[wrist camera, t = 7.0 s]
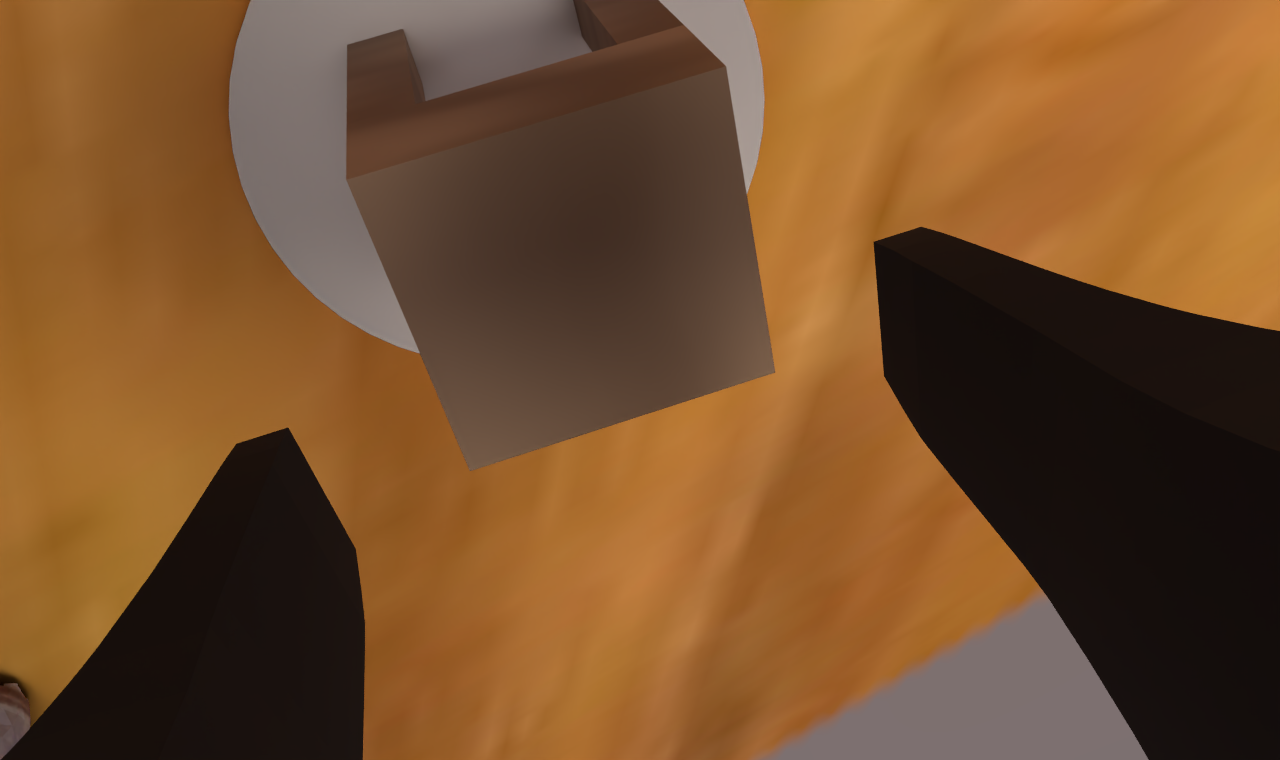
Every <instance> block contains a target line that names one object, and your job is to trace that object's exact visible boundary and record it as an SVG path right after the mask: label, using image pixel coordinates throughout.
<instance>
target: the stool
mask: <svg viewBox="0 0 1280 760" xmlns="http://www.w3.org/2000/svg"><path fill="white" fill-rule="evenodd" d="M573 2H574V6H575V10H576V14H577V18H578V22H579V26H580V30H581V34H582V37H583V39H584V40H585V42H586V43H587V45H588V46H589V48H590V49H591V50H592V52H590V53H587V54H584V55H580V56H577V57H573V58H570V59H567V60H563V61H560V62H557V63H553V64H550V65H546V66H543V67H540V68H536V69H533V70H529V71H526V72H523V73H519V74H516V75H513V76H509V77H506V78H502V79H499V80H496V81H492V82H489V83H485V84H482V85H479V86H475V87H472V88H469V89H465V90H462V91H458V92H455V93H452V94H448V95H445V96H441V97H438V98H435V99H431V100H428V101H426V100H425V95H424V89H423V84H422V81H421V78H420V75H419V73H418V70H417V67H416V64H415V61H414V58H413V56H412V53H411V50H410V47H409V44H408V41H407V38H406V36H405V33H404V30H403V29H400V30H396V31H393V32H390V33H386V34H383V35H379V36H376V37H372V38H369V39H365V40H362V41H359V42H355V43H352V44H348V45H347V127H346V181H347V183H348V185H349V188H350V190H351V193H352V195H353V197H354V200H355V202H356V204H357V207H358V209H359V211H360V214H361V216H362V218H363V221H364V223H365V225H366V228H367V230H368V232H369V235H370V237H371V240H372V242H373V244H374V247H375V249H376V251H377V254H378V256H379V258H380V261H381V263H382V265H383V268H384V270H385V272H386V275H387V277H388V279H389V282H390V284H391V287H392V289H393V291H394V294H395V296H396V298H397V301H398V303H399V305H400V308H401V310H402V312H403V315H404V317H405V319H406V322H407V324H408V326H409V329H410V331H411V334H412V336H413V338H414V341H415V343H416V345H417V348H418V350H419V352H420V355H421V357H422V359H423V362H424V364H425V366H426V369H427V371H428V373H429V376H430V378H431V381H432V383H433V385H434V388H435V390H436V392H437V395H438V397H439V399H440V402H441V404H442V406H443V409H444V411H445V413H446V416H447V418H448V420H449V423H450V425H451V427H452V430H453V432H454V435H455V437H456V439H457V442H458V444H459V446H460V449H461V451H462V453H463V456H464V458H465V460H466V463H467V465H468V467H469V470H470V471H472V470H475V469H478V468H481V467H484V466H487V465H490V464H493V463H496V462H500V461H503V460H506V459H509V458H512V457H515V456H518V455H521V454H524V453H527V452H531V451H534V450H537V449H540V448H543V447H546V446H549V445H552V444H555V443H558V442H561V441H565V440H568V439H571V438H574V437H577V436H580V435H583V434H586V433H589V432H592V431H595V430H599V429H602V428H605V427H608V426H611V425H614V424H617V423H620V422H623V421H626V420H630V419H633V418H636V417H639V416H642V415H645V414H648V413H651V412H654V411H657V410H660V409H664V408H667V407H670V406H673V405H676V404H679V403H682V402H685V401H688V400H691V399H695V398H698V397H701V396H704V395H707V394H710V393H713V392H716V391H719V390H722V389H725V388H729V387H732V386H735V385H738V384H741V383H744V382H747V381H750V380H753V379H756V378H759V377H763V376H766V375H769V374H772V373H775V368H774V362H773V355H772V349H771V343H770V337H769V331H768V324H767V318H766V312H765V306H764V299H763V293H762V287H761V281H760V274H759V268H758V262H757V256H756V249H755V243H754V237H753V231H752V224H751V218H750V212H749V206H748V199H747V193H746V187H745V181H744V174H743V168H742V162H741V156H740V149H739V143H738V137H737V131H736V125H735V118H734V112H733V106H732V100H731V93H730V87H729V81H728V75H727V68H726V66H725V65H724V64H723V63H722V62H721V61H720V60H719V59H718V58H717V57H716V56H715V55H714V54H713V53H712V52H711V51H710V50H709V49H708V48H707V47H706V46H705V45H704V44H703V43H702V42H701V41H700V40H699V39H698V38H697V37H696V36H695V35H694V34H693V33H692V32H691V31H690V30H689V29H688V28H687V27H686V26H685V25H684V24H682V23H681V22H680V21H679V20H678V19H677V18H676V17H675V16H674V15H673V14H672V13H671V12H670V11H669V10H668V9H667V8H666V7H665V6H664V5H663V4H662V3H661V2H660V1H659V0H573Z"/></svg>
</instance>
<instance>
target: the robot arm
mask: <svg viewBox="0 0 1280 760" xmlns="http://www.w3.org/2000/svg"><path fill="white" fill-rule="evenodd" d="M874 253H875V265H876V278H877V291H878V304H879V316H880V329H881V342H882V355H883V368H884V377H885V378H886V380H887V382H888V384H889V385H890V387H891V389H892V390H893V392H894V394H895V396H896V397H897V399H898V401H899V403H900V404H901V406H902V408H903V410H904V411H905V413H906V414H907V416H908V418H909V419H910V421H911V423H912V424H913V426H914V427H915V429H916V431H917V432H918V434H919V436H920V437H921V439H922V440H923V441H924V442H925V444H926V445H927V446H928V448H929V449H930V450H931V451H932V453H933V454H934V455H935V456H936V458H937V459H938V460H939V461H940V463H941V464H942V465H943V466H944V468H945V469H946V470H947V471H948V473H949V474H950V475H951V476H952V478H953V479H954V480H955V481H956V483H957V484H958V485H959V486H960V488H961V489H962V490H963V491H964V492H965V494H966V495H967V496H968V497H969V499H970V500H971V501H972V502H973V504H974V505H975V506H976V507H977V508H978V510H979V511H980V512H981V513H982V515H983V516H984V517H985V518H986V519H987V521H988V522H989V523H990V524H991V526H992V527H993V528H994V529H995V530H996V532H997V533H998V534H999V535H1000V537H1001V538H1002V539H1003V540H1004V541H1005V543H1006V544H1007V545H1008V546H1009V548H1010V549H1011V550H1012V551H1013V552H1014V554H1015V555H1016V556H1017V557H1018V559H1019V560H1020V561H1021V562H1022V563H1023V565H1024V566H1025V567H1026V569H1027V570H1028V571H1029V573H1030V574H1031V575H1032V577H1033V578H1034V579H1035V581H1036V582H1037V583H1038V585H1039V586H1040V587H1041V589H1042V590H1043V591H1044V593H1045V594H1046V595H1047V597H1048V598H1049V600H1050V601H1051V603H1052V604H1053V606H1054V608H1055V609H1056V611H1057V612H1058V614H1059V615H1060V617H1061V618H1062V620H1063V621H1064V623H1065V625H1066V626H1067V628H1068V629H1069V631H1070V632H1071V634H1072V635H1073V637H1074V638H1075V640H1076V642H1077V643H1078V644H1079V646H1080V648H1081V649H1082V651H1083V652H1084V654H1085V655H1086V657H1087V659H1088V660H1089V662H1090V663H1091V665H1092V666H1093V668H1094V670H1095V671H1096V673H1097V675H1098V676H1099V678H1100V680H1101V681H1102V683H1103V684H1104V686H1105V688H1106V689H1107V691H1108V693H1109V694H1110V696H1111V697H1112V699H1113V701H1114V702H1115V704H1116V706H1117V707H1118V709H1119V710H1120V712H1121V714H1122V715H1123V717H1124V719H1125V720H1126V722H1127V723H1128V725H1129V727H1130V728H1131V730H1132V731H1133V733H1134V735H1135V737H1136V738H1137V740H1138V742H1139V744H1140V745H1141V747H1142V749H1143V751H1144V752H1145V754H1146V756H1147V757H1148V759H1149V760H1280V331H1276V330H1270V329H1264V328H1259V327H1254V326H1249V325H1245V324H1240V323H1235V322H1230V321H1226V320H1221V319H1216V318H1212V317H1207V316H1202V315H1197V314H1193V313H1189V312H1185V311H1181V310H1177V309H1173V308H1169V307H1165V306H1161V305H1158V304H1154V303H1151V302H1147V301H1144V300H1140V299H1137V298H1133V297H1130V296H1126V295H1123V294H1119V293H1116V292H1112V291H1109V290H1106V289H1103V288H1099V287H1096V286H1093V285H1090V284H1087V283H1084V282H1081V281H1078V280H1075V279H1072V278H1069V277H1066V276H1063V275H1060V274H1057V273H1054V272H1051V271H1048V270H1045V269H1042V268H1039V267H1037V266H1034V265H1031V264H1028V263H1025V262H1023V261H1020V260H1017V259H1014V258H1011V257H1009V256H1006V255H1003V254H1000V253H998V252H995V251H992V250H989V249H987V248H984V247H981V246H978V245H976V244H973V243H970V242H967V241H964V240H962V239H959V238H956V237H953V236H950V235H947V234H944V233H941V232H938V231H934V230H931V229H927V228H924V227H919V228H916V229H913V230H910V231H906V232H903V233H900V234H897V235H894V236H891V237H888V238H884V239H881V240H878V241H875V242H874ZM364 669H365V620H364V611H363V601H362V592H361V585H360V577H359V570H358V563H357V555H356V549H355V547H354V545H353V543H352V542H351V540H350V538H349V536H348V534H347V533H346V531H345V529H344V527H343V525H342V524H341V522H340V520H339V518H338V516H337V515H336V513H335V511H334V509H333V507H332V506H331V504H330V502H329V500H328V498H327V497H326V495H325V493H324V491H323V489H322V488H321V486H320V484H319V482H318V480H317V479H316V477H315V475H314V473H313V471H312V470H311V468H310V466H309V464H308V462H307V461H306V459H305V457H304V455H303V453H302V451H301V450H300V448H299V446H298V444H297V442H296V441H295V439H294V437H293V435H292V433H291V432H290V430H289V428H285V429H282V430H279V431H276V432H273V433H269V434H266V435H263V436H260V437H257V438H254V439H250V440H247V441H244V442H241V443H238V444H236V445H235V447H234V448H233V450H232V451H231V452H230V454H229V455H228V456H227V458H226V459H225V461H224V462H223V464H222V465H221V467H220V469H219V470H218V472H217V473H216V475H215V476H214V478H213V479H212V481H211V482H210V484H209V486H208V487H207V489H206V490H205V492H204V493H203V495H202V497H201V498H200V500H199V501H198V503H197V504H196V506H195V508H194V509H193V511H192V512H191V514H190V515H189V517H188V519H187V520H186V522H185V523H184V525H183V526H182V528H181V529H180V531H179V532H178V534H177V535H176V537H175V538H174V540H173V541H172V543H171V544H170V546H169V548H168V549H167V551H166V552H165V554H164V555H163V557H162V558H161V560H160V561H159V563H158V564H157V566H156V567H155V569H154V570H153V572H152V573H151V575H150V576H149V578H148V579H147V580H146V582H145V583H144V584H143V586H142V587H141V589H140V590H139V591H138V593H137V594H136V595H135V597H134V598H133V600H132V601H131V602H130V604H129V605H128V606H127V608H126V609H125V611H124V612H123V613H122V615H121V616H120V617H119V619H118V620H117V622H116V623H115V624H114V626H113V627H112V628H111V630H110V631H109V633H108V634H107V635H106V637H105V638H104V639H103V641H102V642H101V644H100V645H99V646H98V648H97V649H96V650H95V652H94V653H93V654H92V655H91V657H90V658H89V659H88V660H87V662H86V663H85V664H84V665H83V667H82V668H81V669H80V670H79V672H78V673H77V674H76V675H75V676H74V678H73V679H72V680H71V681H70V683H69V684H68V685H67V686H66V687H65V689H64V690H63V691H62V692H61V693H60V694H59V696H58V697H57V698H56V699H55V700H54V701H53V703H52V704H51V705H50V706H49V707H48V708H47V709H46V711H45V712H44V713H43V714H42V715H41V716H40V717H39V719H38V720H37V721H36V722H35V723H34V724H33V726H32V727H31V728H30V729H29V730H28V731H27V732H26V733H25V734H24V736H23V737H22V738H21V739H20V740H19V741H18V742H17V743H16V744H15V745H14V747H13V748H12V749H11V750H10V751H9V752H8V753H7V754H6V755H5V756H4V757H3V758H2V759H1V760H363V719H364Z"/></svg>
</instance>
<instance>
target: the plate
mask: <svg viewBox="0 0 1280 760" xmlns="http://www.w3.org/2000/svg"><path fill="white" fill-rule="evenodd" d="M659 1H660V2H661V3H662V4H663V5H664V6H665V7H666V8H667V9H668V10H669V11H670V12H671V13H672V14H673V15H674V16H675V17H676V18H677V19H678V20H679V21H680V22H681V23H682V24H684V25H685V26H686V27H687V28H688V29H689V30H690V31H691V32H692V33H693V34H694V35H695V36H696V37H697V38H698V39H699V40H700V41H701V42H702V43H703V44H704V45H705V46H706V47H707V48H708V49H709V50H710V51H711V52H712V53H713V54H714V55H715V56H716V57H717V58H718V59H719V60H720V61H721V62H722V63H723V64H724V65H725V66H726V68H727V75H728V81H729V87H730V93H731V100H732V106H733V112H734V118H735V125H736V131H737V137H738V143H739V149H740V156H741V162H742V168H743V174H744V181H745V187H746V193H748V190H749V187H750V183H751V180H752V177H753V174H754V171H755V167H756V164H757V160H758V155H759V149H760V144H761V138H762V133H763V118H764V100H765V99H764V85H763V71H762V63H761V58H760V54H759V49H758V44H757V39H756V34H755V31H754V28H753V25H752V23H751V20H750V17H749V14H748V11H747V8H746V5H745V3H744V0H659ZM400 29H403V30H404V33H405V36H406V38H407V41H408V44H409V47H410V50H411V53H412V56H413V58H414V61H415V64H416V67H417V70H418V73H419V75H420V78H421V81H422V84H423V89H424V95H425V100H426V101H428V100H431V99H435V98H438V97H441V96H445V95H448V94H452V93H455V92H458V91H462V90H465V89H469V88H472V87H475V86H479V85H482V84H485V83H489V82H492V81H496V80H499V79H502V78H506V77H509V76H513V75H516V74H519V73H523V72H526V71H529V70H533V69H536V68H540V67H543V66H546V65H550V64H553V63H557V62H560V61H563V60H567V59H570V58H573V57H577V56H580V55H584V54H587V53H590V52H592V50H591V49H590V48H589V46H588V45H587V43H586V42H585V40H584V39H583V37H582V34H581V30H580V26H579V22H578V18H577V14H576V10H575V6H574V2H573V0H250V3H249V6H248V9H247V12H246V15H245V18H244V21H243V24H242V27H241V30H240V33H239V36H238V39H237V42H236V47H235V53H234V59H233V64H232V70H231V76H230V90H229V123H230V132H231V140H232V149H233V155H234V159H235V162H236V166H237V170H238V174H239V178H240V181H241V185H242V188H243V191H244V193H245V195H246V198H247V200H248V203H249V205H250V207H251V210H252V212H253V215H254V217H255V219H256V221H257V223H258V224H259V226H260V228H261V229H262V231H263V233H264V235H265V236H266V238H267V240H268V241H269V243H270V245H271V247H272V248H273V250H274V251H275V252H276V253H277V255H278V256H279V257H280V259H281V260H282V261H283V262H284V264H285V265H286V266H287V268H288V269H289V270H290V271H291V273H292V274H293V275H294V276H295V277H296V278H297V279H298V280H299V281H300V282H301V283H302V284H303V285H304V286H305V287H306V288H307V289H308V290H309V291H310V292H311V293H312V294H313V295H314V296H315V297H316V298H317V299H318V300H320V301H321V302H322V303H324V304H325V305H326V306H328V307H329V308H330V309H331V310H333V311H334V312H335V313H337V314H338V315H339V316H341V317H342V318H343V319H345V320H347V321H348V322H350V323H352V324H354V325H355V326H357V327H359V328H360V329H362V330H364V331H365V332H367V333H369V334H371V335H373V336H375V337H377V338H380V339H382V340H384V341H386V342H389V343H391V344H393V345H395V346H398V347H401V348H404V349H407V350H410V351H413V352H417V353H420V352H419V350H418V348H417V345H416V343H415V341H414V338H413V336H412V334H411V331H410V329H409V326H408V324H407V322H406V319H405V317H404V315H403V312H402V310H401V308H400V305H399V303H398V301H397V298H396V296H395V294H394V291H393V289H392V287H391V284H390V282H389V279H388V277H387V275H386V272H385V270H384V268H383V265H382V263H381V261H380V258H379V256H378V254H377V251H376V249H375V247H374V244H373V242H372V240H371V237H370V235H369V232H368V230H367V228H366V225H365V223H364V221H363V218H362V216H361V214H360V211H359V209H358V207H357V204H356V202H355V200H354V197H353V195H352V193H351V190H350V188H349V185H348V183H347V181H346V127H347V45H348V44H352V43H355V42H359V41H362V40H365V39H369V38H372V37H376V36H379V35H383V34H386V33H390V32H393V31H396V30H400Z"/></svg>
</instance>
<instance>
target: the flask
mask: <svg viewBox="0 0 1280 760" xmlns="http://www.w3.org/2000/svg"><path fill="white" fill-rule="evenodd" d="M30 724H31V718H30V707H29V701H28V698H26V699H25V696H24V694H23V693H21V689H20V688H19V687H18V684H16V683H8V684H4V686H1V685H0V760H1V759H2V758H3V757H4V756H5V755H6V754H7V753H8V752H9V751H10V750H11V749H12V748H13V747H14V745H15V744H16V743H17V742H18V741H19V740H20V739H21V738H22V737H23V736H24V734H25V733H26V732H27V731H28V730H29V729H30Z"/></svg>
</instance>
